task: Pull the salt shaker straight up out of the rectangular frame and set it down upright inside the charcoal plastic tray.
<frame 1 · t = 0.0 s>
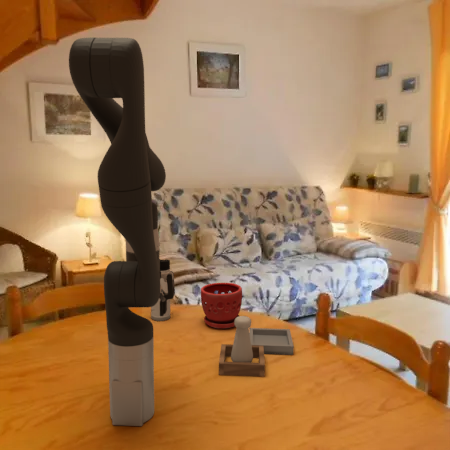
hand: (144, 314, 111), 17 cm above the table, tool pointing down, fingers open, 8 cm apart
rectangular frame: (241, 364, 123), on the table
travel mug: (160, 318, 155), on the table
salt shaker: (241, 365, 123), resting in rectangular frame
plant pot: (221, 324, 151), on the table
tray: (270, 344, 136), on the table
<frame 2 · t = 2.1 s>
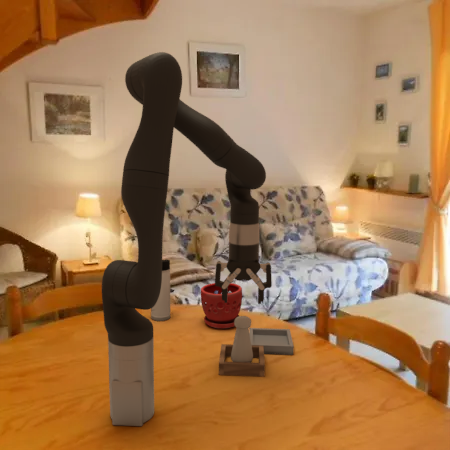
hand: (242, 302, 121), 17 cm above the table, tool pointing down, fingers open, 8 cm apart
nothing on the table moved.
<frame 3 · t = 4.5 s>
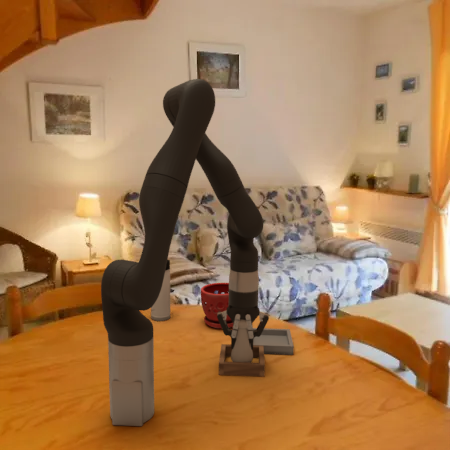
hand: (242, 350, 123), 4 cm above the table, tool pointing down, fingers closed on salt shaker, 3 cm apart
salt shaker: (241, 365, 123), resting in rectangular frame, touching gripper
everything else where it was.
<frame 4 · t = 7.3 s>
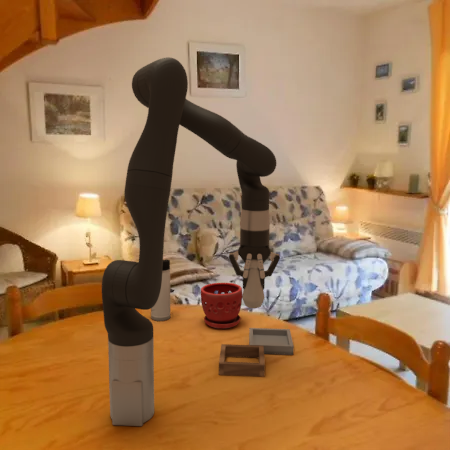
hand: (253, 290, 124), 19 cm above the table, tool pointing down, fingers closed on salt shaker, 3 cm apart
salt shaker: (253, 306, 125), point 14 cm above the table, touching gripper
everything else where it was.
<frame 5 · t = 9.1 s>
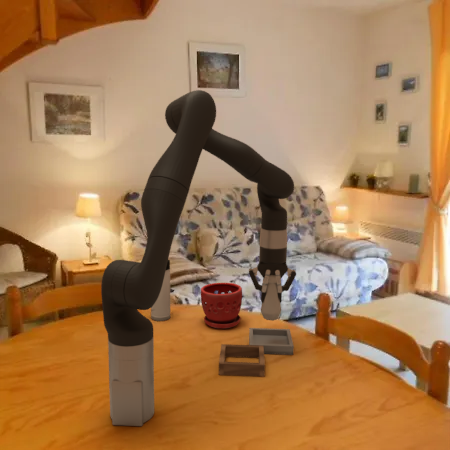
hand: (271, 303, 134), 12 cm above the table, tool pointing down, fingers closed on salt shaker, 3 cm apart
salt shaker: (270, 318, 134), point 8 cm above the table, touching gripper
everything else where it was.
when the fingers open (6 cm above the table, at t = 10.4 s): salt shaker drops 1 cm, resting on tray.
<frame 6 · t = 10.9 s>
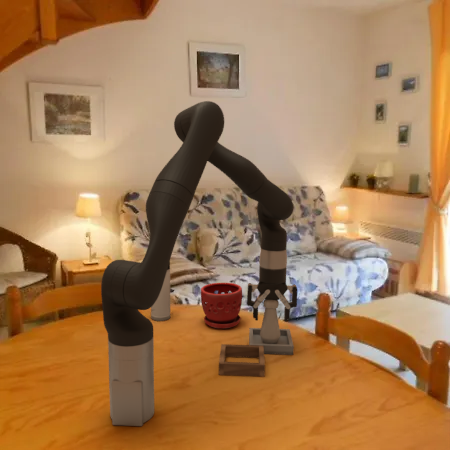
hand: (271, 320, 135), 8 cm above the table, tool pointing down, fingers open, 8 cm apart
salt shaker: (270, 343, 136), point 1 cm above the table, touching tray
everything else where it was.
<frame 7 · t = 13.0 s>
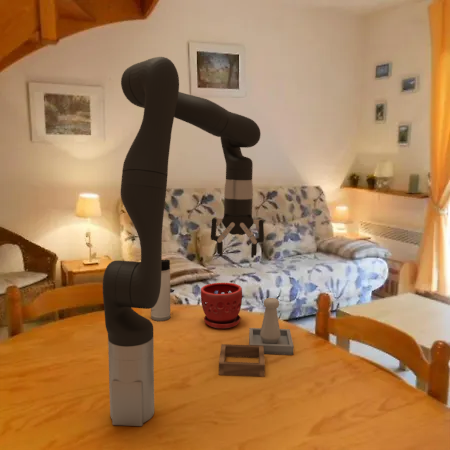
hand: (236, 256, 128), 27 cm above the table, tool pointing down, fingers open, 8 cm apart
nothing on the table moved.
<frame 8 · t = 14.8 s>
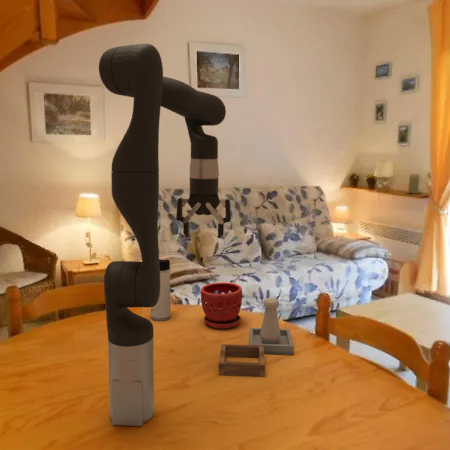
hand: (203, 237, 126), 32 cm above the table, tool pointing down, fingers open, 8 cm apart
nothing on the table moved.
at the end: salt shaker inside the target area on the tray (0.1 cm from its centre), point 0.6 cm above the tray's base; salt shaker tilted 0°; the gripper is holding nothing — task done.
